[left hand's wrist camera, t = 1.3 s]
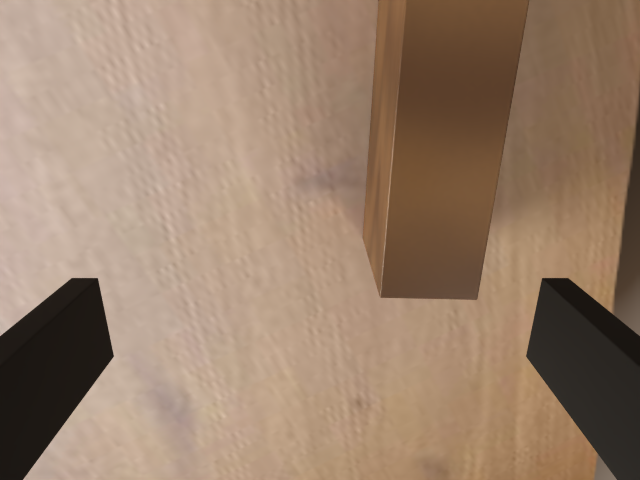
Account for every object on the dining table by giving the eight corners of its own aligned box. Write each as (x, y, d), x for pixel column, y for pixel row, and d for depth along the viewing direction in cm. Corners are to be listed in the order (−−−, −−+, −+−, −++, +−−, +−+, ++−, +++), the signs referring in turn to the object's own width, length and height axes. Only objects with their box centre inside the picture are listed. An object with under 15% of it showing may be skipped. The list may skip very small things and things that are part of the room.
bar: (433, 240, 31) (477, 300, 22) (362, 239, 31) (379, 298, 22) (480, -125, 23) (572, -240, 15) (387, -129, 23) (426, -246, 15)
